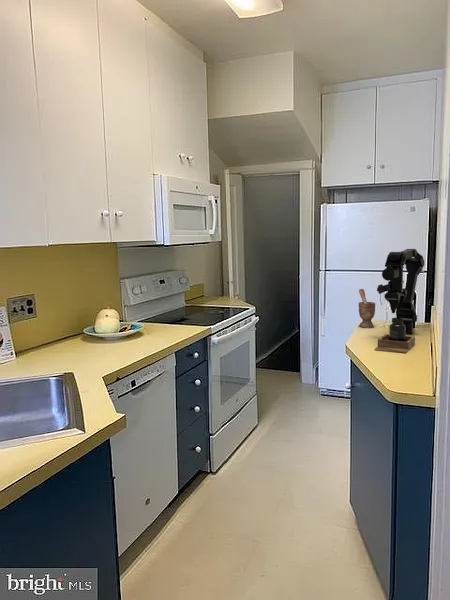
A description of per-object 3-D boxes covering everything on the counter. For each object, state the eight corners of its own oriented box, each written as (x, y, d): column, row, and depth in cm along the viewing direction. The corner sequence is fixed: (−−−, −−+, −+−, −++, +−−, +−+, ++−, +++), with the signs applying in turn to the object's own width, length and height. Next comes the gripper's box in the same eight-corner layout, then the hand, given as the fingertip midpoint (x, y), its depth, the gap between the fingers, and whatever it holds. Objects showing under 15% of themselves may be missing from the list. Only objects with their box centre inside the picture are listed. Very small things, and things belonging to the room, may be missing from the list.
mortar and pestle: (350, 325, 262) (351, 289, 259) (362, 323, 266) (362, 288, 264) (367, 329, 252) (367, 291, 250) (378, 326, 257) (379, 289, 254)
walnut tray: (385, 341, 222) (385, 334, 222) (414, 344, 216) (414, 336, 215) (374, 350, 207) (374, 342, 207) (405, 353, 200) (406, 345, 200)
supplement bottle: (408, 345, 211) (409, 319, 209) (394, 347, 209) (395, 320, 208) (398, 342, 218) (399, 316, 216) (385, 343, 216) (386, 317, 214)
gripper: (383, 276, 236) (383, 307, 238) (373, 280, 221) (372, 313, 223) (407, 277, 230) (406, 309, 233) (398, 280, 215) (397, 315, 217)
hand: (395, 311), depth 226 cm, fingers open, 9 cm apart
